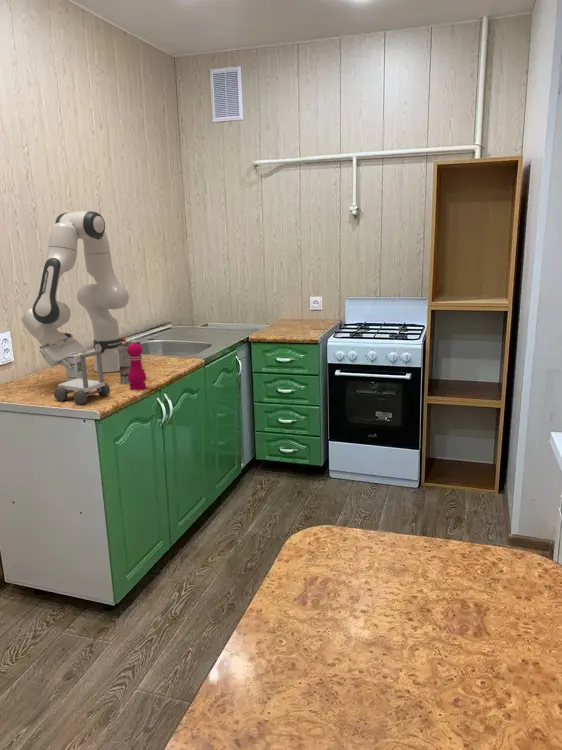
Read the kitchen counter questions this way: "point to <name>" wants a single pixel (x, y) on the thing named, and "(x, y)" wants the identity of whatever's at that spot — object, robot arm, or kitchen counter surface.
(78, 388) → the hand trolley
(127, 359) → the coffee box
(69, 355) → the syrup box
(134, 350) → the pepper mill
